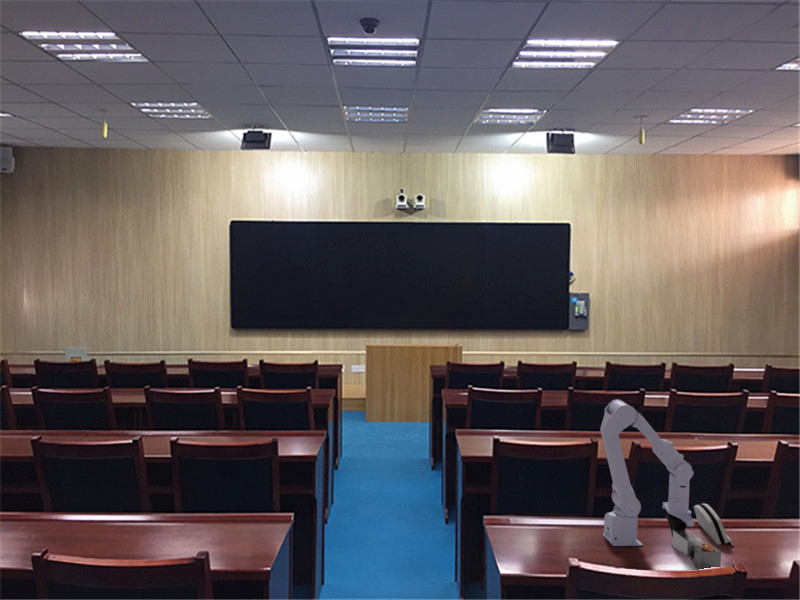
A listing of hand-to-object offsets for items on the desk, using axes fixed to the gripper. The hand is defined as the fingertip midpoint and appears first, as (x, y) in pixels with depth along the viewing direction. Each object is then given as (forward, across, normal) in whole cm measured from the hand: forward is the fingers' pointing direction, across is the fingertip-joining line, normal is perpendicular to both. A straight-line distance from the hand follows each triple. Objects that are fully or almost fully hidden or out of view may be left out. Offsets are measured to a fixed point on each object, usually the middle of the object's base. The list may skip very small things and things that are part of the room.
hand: (676, 539), depth 182 cm
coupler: (+1, -12, 0) cm, 12 cm away
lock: (+1, -6, 0) cm, 6 cm away
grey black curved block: (+2, +7, -16) cm, 17 cm away
